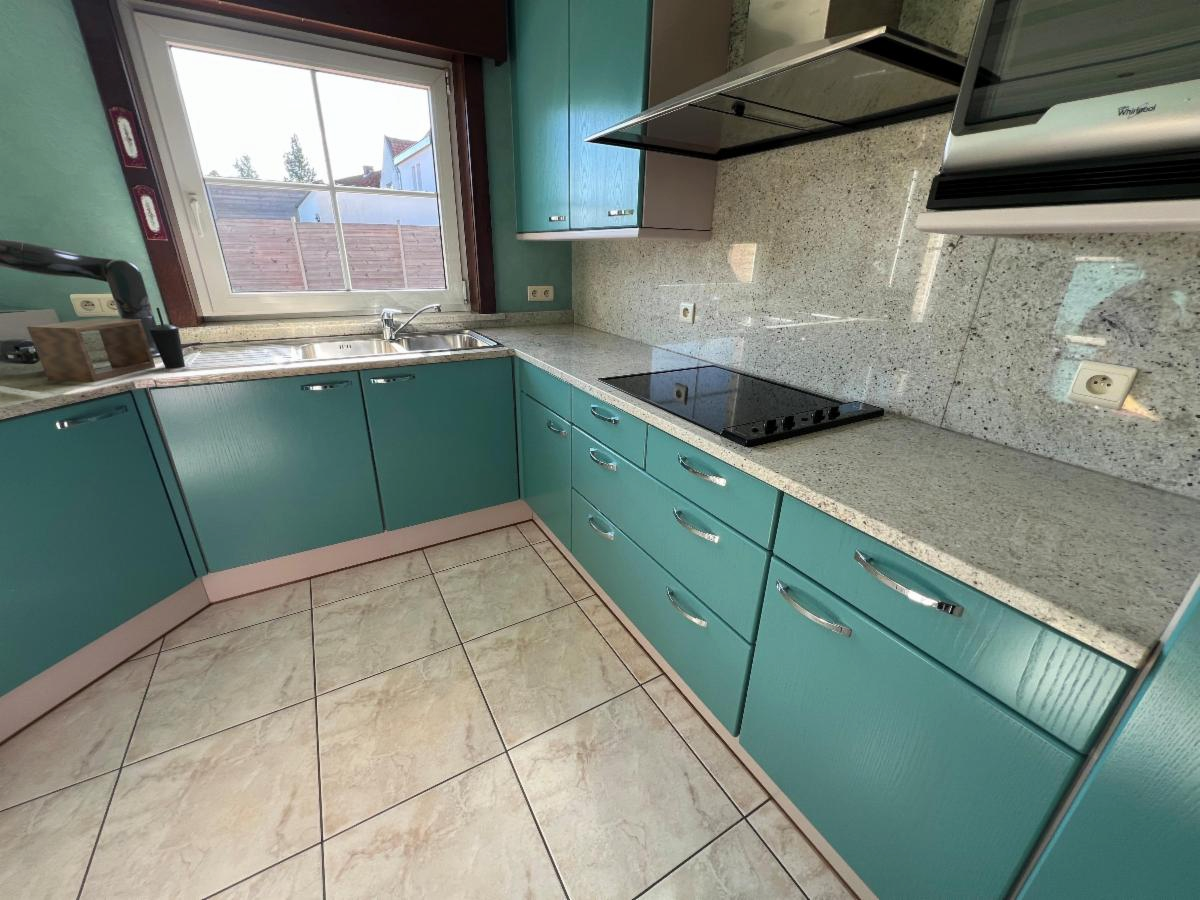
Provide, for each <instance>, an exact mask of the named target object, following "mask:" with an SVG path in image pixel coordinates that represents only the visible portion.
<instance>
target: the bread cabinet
mask: <svg viewBox="0 0 1200 900" xmlns="http://www.w3.org/2000/svg"><path fill="white" fill-rule="evenodd" d="M26 328H27V331H28V333H29V336H30V338H31V339H30V340H31V341H33V344H34V346H35V349H36V351H37V354H38V356H39V359H40V361H39V362H40V363H41V366H42V368H43V371H44V373H45V376H46V378H47V380H48V381H61V382H62V381H63V382H86V383H87V382H89V383H95V382H99V381H103V380H108V379H112V378H117V377H120V376H121V377H122V376H125V375H129V374H134V373H137V372H140V371H146V370H151V369H154V368H156V364H155V361H154V357H152V354H151V351H150V348H149V345H148V342H147V338H146V335H145V332H144V329H143V326H142V323H141V320H138V319H120V318H106V317H104V318H103V317H95V318H86V319H79V320H71V321H61V322H54V323H45V324H37V325H29V326H26ZM90 331H98V332H99V335H100V338H101V341H102V344H103V347H104V350H105V352H106V355H107V358H108V361H109V364H110V366H106V367H101V368H97V369H95V368H94V365H93V362H92V360H91V358H90V355H89V351H88V348H87V346H86V344H85V340H84V338H83V335H82V333H84V332H90Z"/></svg>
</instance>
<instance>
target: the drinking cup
mask: <svg viewBox="0 0 1200 900" xmlns="http://www.w3.org/2000/svg"><path fill="white" fill-rule="evenodd" d="M155 309H156V313H157V316H158V318H159V322H160V324H157V325H156V326H153V327H151V328H149V329H148V331H150V333H151V335H152V338H153V340H154V342H155V345H156V347H157V349H158V352H159V354H160V356H159V357H160V359H161V360H162V363H163V366H164V368H165V369H169V370H170V369H181V368H184V367H186V363H185V357H184V353H183V347H181V346H182V343H181V336H180V331H179V330H180V327H179V326H176V325H175V326H174V325H173V324H168V323H167V324H166V323H164V320H163V317H162V314H161V310H160V307H156V308H155Z"/></svg>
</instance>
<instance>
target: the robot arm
mask: <svg viewBox="0 0 1200 900" xmlns="http://www.w3.org/2000/svg"><path fill="white" fill-rule="evenodd" d="M0 268H4V269H8V270H13V271H19V272H23V273H30V274H36V275H41V276H42V275H43V276H50V277H51V276H52V277H66V278H82V279H83V278H84V279H90V280H96V281H99V282H105V283H107V284H108V287H109V290H110V293H111V296H112V299H113V302H114V305H115V307H116V310H117V313H118V316H119V319H138V320H141V323H142V326H143V329H144V332H145V335H146V338H147V342H148V345H149V348H150V351H151V354H152V357H153V358H157V357H161V356H160V354H159V352H158V349H157V347H156V345H155V342H154V340H153V338H152V335H151V333H150V331H148V329H149V328H151V327H153V326H156V325H158V324H157V321H156V318H155V315H154V311H153V308H152V305H151V302H150V301H151V300H150V298H149V297H150V296H149V294H148V291H147V288H146V285H145V281H144V277H143V274H142V272H141V270H140V268H139V267H138V266H137V265H135V264H134V263H133V262H131V261H128V260H125V259H117V258H115V259H114V258H103V257H95V256H89V255H83V254H80V253H79V254H78V253H75V252H72V251H67V250H64V249H60V248H56V247H52V246H47V245H43V244H37V243H33V242H28V241H20V240H15V239H14V240H13V239H5V238H0ZM200 344H201V342H200V341H197V342H191V343H186V344H181V347H182V348H185V347H190V346H196V345H200ZM39 362H41V361H40V359H39V356H38V354H37V351H36V349H35V346H34V344H33V341H32V339H24V338H0V363H4V364H13V365H14V364H16V365H35V364H37V363H39Z"/></svg>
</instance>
